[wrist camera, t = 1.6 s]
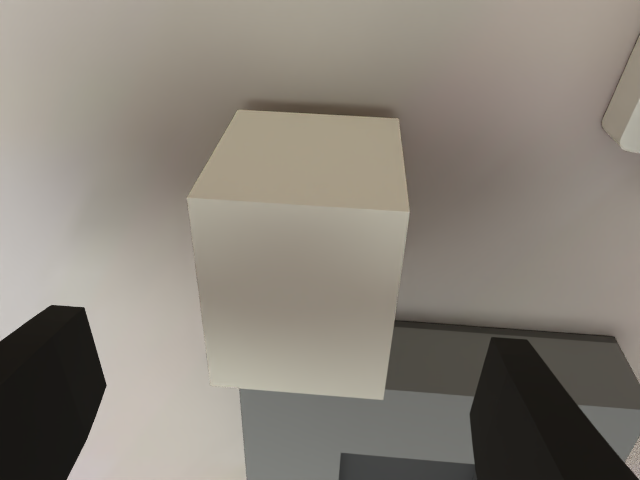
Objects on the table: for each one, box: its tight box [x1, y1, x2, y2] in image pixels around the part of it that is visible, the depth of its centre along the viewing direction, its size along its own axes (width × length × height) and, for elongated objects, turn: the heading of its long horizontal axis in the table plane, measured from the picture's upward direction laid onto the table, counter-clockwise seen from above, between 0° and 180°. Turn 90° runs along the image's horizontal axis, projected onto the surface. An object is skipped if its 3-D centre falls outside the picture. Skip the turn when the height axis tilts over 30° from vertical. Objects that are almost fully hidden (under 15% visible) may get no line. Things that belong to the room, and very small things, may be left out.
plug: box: [187, 110, 410, 400], centre depth 13 cm, size 4×5×6 cm
